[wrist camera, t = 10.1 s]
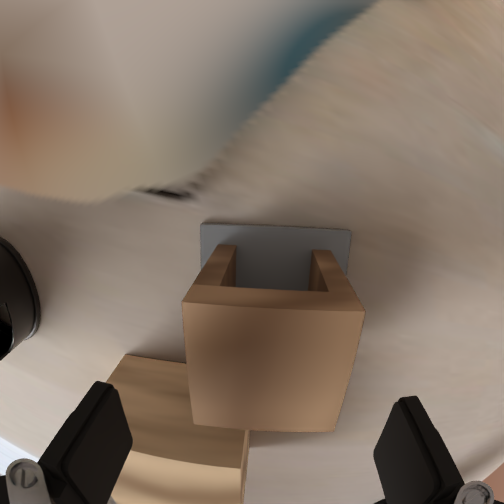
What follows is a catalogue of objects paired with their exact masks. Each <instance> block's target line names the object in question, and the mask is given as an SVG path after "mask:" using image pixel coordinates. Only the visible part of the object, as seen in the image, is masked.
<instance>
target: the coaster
mask: <svg viewBox="0 0 504 504" xmlns="http://www.w3.org/2000/svg"><path fill="white" fill-rule="evenodd" d="M200 240H201V270H202V268H203V267H204V265H205V264H206V262H207V260H208V259H209V257H210V256H211V254H212V253H213V251H214V249H215V248H216V246H217V245H218V244H222V245H236V287H240V288H256V289H275V290H295V291H308V285H309V275H310V265H311V255H312V249H317V250H331V252H332V254H333V255H334V257H335V259H336V260H337V262H338V264H339V266H340V267H341V269H342V271H343V272H344V274H345V276H346V273H347V265H348V258H349V249H350V241H351V231H350V230H339V229H322V228H304V227H285V226H263V225H240V224H213V223H202V224H201V225H200Z"/></svg>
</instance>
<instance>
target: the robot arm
mask: <svg viewBox="0 0 504 504" xmlns="http://www.w3.org/2000/svg"><path fill="white" fill-rule="evenodd" d="M132 444H133V438H132V435H131V432H130V429H129V426H128V422H127V419H126V416H125V413H124V410H123V406H122V403H121V399H120V396H119V392H118V390H117V389H115V388H114V386H113V385H112V384H109V383H104V382H100V381H96V382H95V383H94V384H93V385H92V387H91V388H90V390H89V391H88V392H87V394H86V395H85V397H84V398H83V399H82V401H81V402H80V404H79V405H78V406H77V408H76V409H75V411H73V412H72V413H71V414H70V416H69V417H68V418H67V420H66V421H65V423H64V424H63V426H62V427H61V428H60V430H59V431H58V433H57V434H56V436H55V437H54V439H53V440H52V441H51V443H50V444H49V446H48V447H47V449H46V450H45V452H44V453H43V455H42V456H41V458H40V459H39V461H38V462H37V463H36V462H35V461H33V460H30V459H18V460H15V461H14V462H12V463H11V464H10V465H9V466H8V468H7V470H6V475H4V476H0V504H117V503H116V502H115V500H114V499H113V497H112V496H111V493H112V491H113V489H114V486H115V484H116V482H117V479H118V477H119V475H120V473H121V470H122V468H123V466H124V463H125V461H126V459H127V457H128V454H129V452H130V450H131V448H132ZM374 460H375V464H376V467H377V471H378V474H379V477H380V481H381V484H382V488H383V491H384V495H385V499H386V502H387V504H504V503H503V502H499V501H496V500H494V494H493V491H492V489H491V487H490V486H488V485H487V484H486V483H483V482H481V481H471V482H468V483H466V484H465V483H464V481H463V479H462V477H461V475H460V473H459V471H458V469H457V467H456V465H455V463H454V461H453V459H452V457H451V455H450V453H449V451H448V449H447V447H446V445H445V443H444V442H443V440H442V438H441V436H440V434H439V432H438V431H437V429H435V427H434V425H433V424H432V422H431V420H430V418H429V416H428V414H427V413H426V411H425V409H424V407H423V405H422V404H421V402H420V400H419V398H418V397H417V396H409V397H402V398H400V399H399V400H398V402H395V403H394V405H393V408H392V410H391V413H390V415H389V417H388V420H387V422H386V425H385V427H384V429H383V432H382V434H381V436H380V438H379V440H378V443H377V445H376V447H375V449H374Z"/></svg>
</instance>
